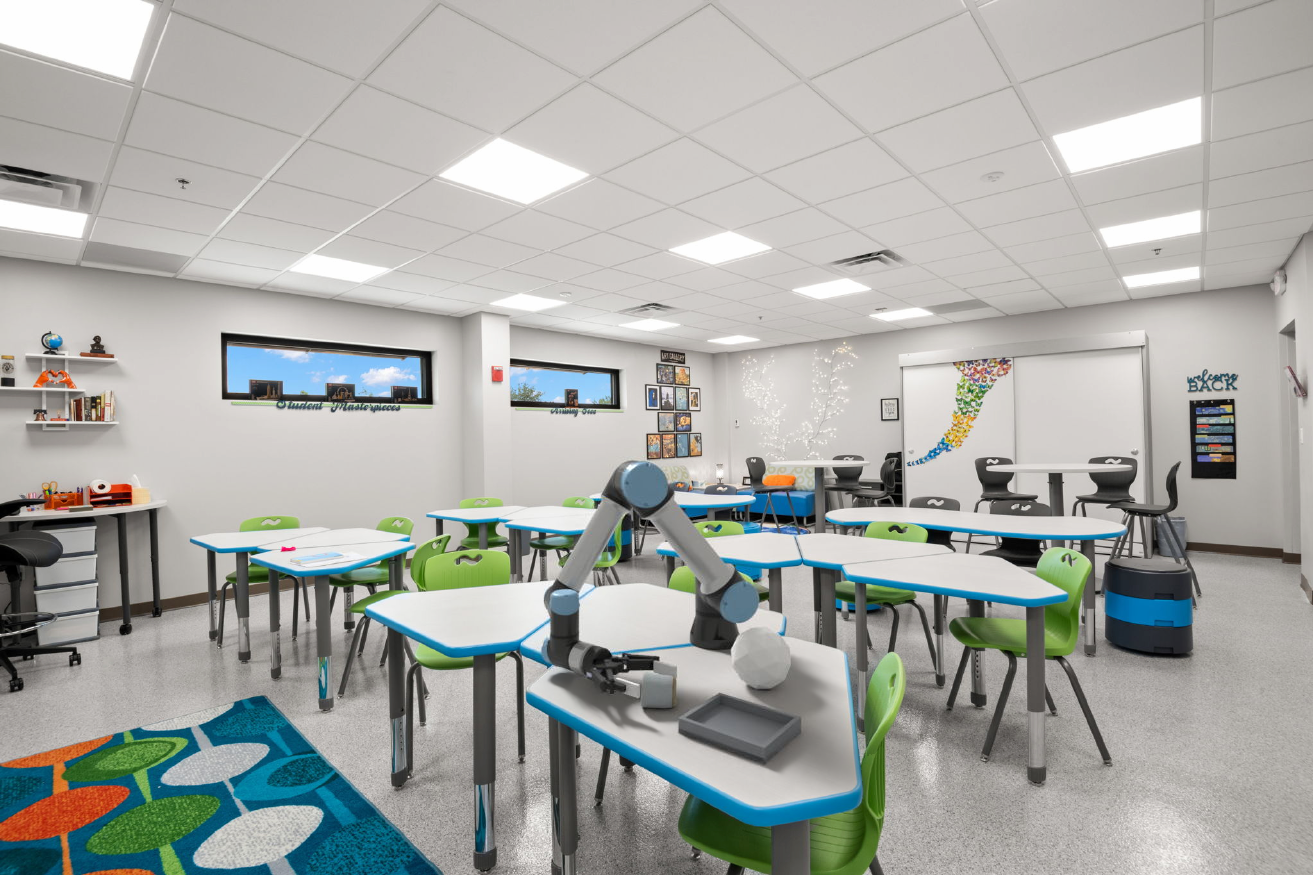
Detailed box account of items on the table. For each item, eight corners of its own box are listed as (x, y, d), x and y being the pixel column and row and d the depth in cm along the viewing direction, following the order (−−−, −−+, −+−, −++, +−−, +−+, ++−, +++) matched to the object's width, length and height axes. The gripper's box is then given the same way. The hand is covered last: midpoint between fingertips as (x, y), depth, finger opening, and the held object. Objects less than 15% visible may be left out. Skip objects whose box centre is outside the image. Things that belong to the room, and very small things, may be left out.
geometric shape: (760, 713, 145) (741, 675, 138) (732, 670, 158) (713, 634, 151) (809, 681, 147) (792, 642, 140) (777, 641, 160) (760, 603, 153)
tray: (719, 705, 138) (719, 692, 138) (801, 731, 125) (801, 717, 125) (678, 732, 125) (678, 717, 125) (764, 764, 113) (764, 748, 113)
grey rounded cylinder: (675, 713, 134) (675, 680, 134) (640, 712, 134) (640, 679, 135) (677, 695, 144) (677, 664, 144) (644, 694, 145) (644, 663, 145)
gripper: (624, 661, 160) (689, 680, 147) (553, 692, 140) (621, 717, 127) (624, 632, 160) (689, 650, 147) (553, 659, 140) (621, 682, 127)
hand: (658, 681), depth 137 cm, fingers open, 13 cm apart
